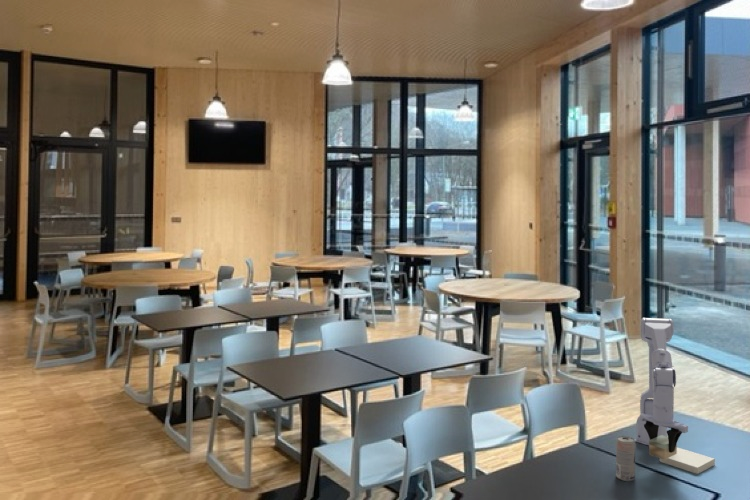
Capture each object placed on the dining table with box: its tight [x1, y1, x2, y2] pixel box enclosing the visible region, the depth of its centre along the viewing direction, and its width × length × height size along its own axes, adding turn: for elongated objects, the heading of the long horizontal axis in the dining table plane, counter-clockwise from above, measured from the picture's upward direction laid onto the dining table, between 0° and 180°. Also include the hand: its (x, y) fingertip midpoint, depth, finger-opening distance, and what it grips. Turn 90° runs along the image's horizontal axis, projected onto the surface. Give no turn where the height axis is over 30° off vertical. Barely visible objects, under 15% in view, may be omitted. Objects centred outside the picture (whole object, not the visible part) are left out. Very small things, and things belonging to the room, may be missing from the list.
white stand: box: [659, 447, 716, 475], centre depth 195 cm, size 12×11×2 cm
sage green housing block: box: [648, 435, 678, 459], centre depth 190 cm, size 5×7×4 cm
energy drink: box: [615, 435, 636, 482], centre depth 185 cm, size 5×5×12 cm
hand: (662, 448), depth 190 cm, fingers closed on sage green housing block, 5 cm apart
